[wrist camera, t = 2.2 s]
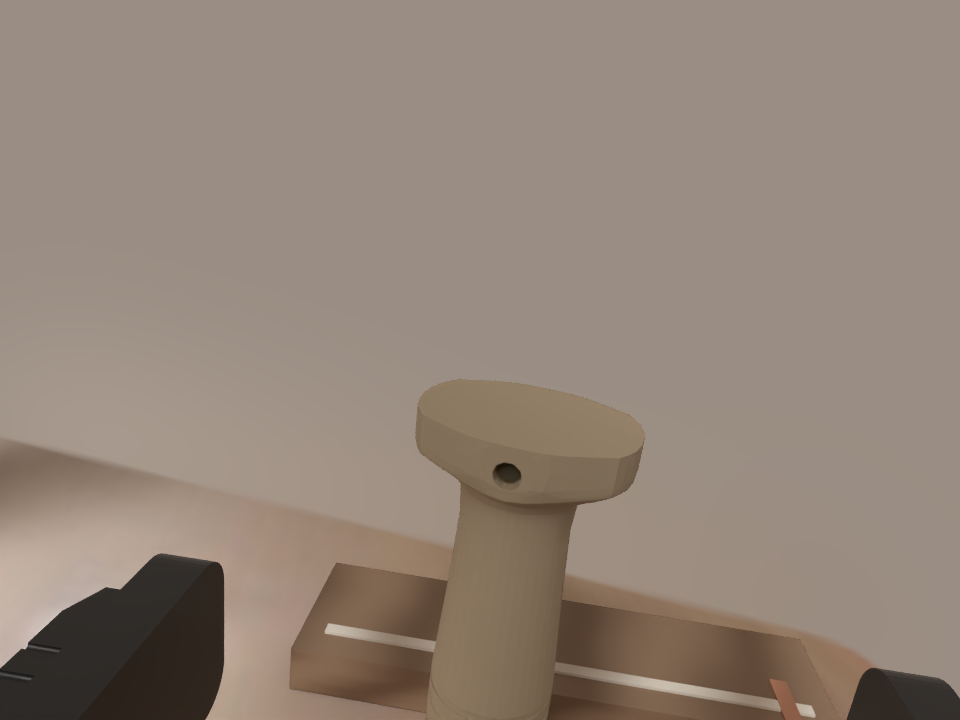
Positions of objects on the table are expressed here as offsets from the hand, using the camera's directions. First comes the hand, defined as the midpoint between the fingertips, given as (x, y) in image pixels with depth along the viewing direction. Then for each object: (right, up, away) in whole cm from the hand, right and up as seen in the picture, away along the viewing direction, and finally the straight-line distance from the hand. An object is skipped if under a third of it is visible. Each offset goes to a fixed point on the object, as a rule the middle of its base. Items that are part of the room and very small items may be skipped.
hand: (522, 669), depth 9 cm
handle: (-1, -12, +16) cm, 20 cm away
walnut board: (+3, -10, +22) cm, 24 cm away
